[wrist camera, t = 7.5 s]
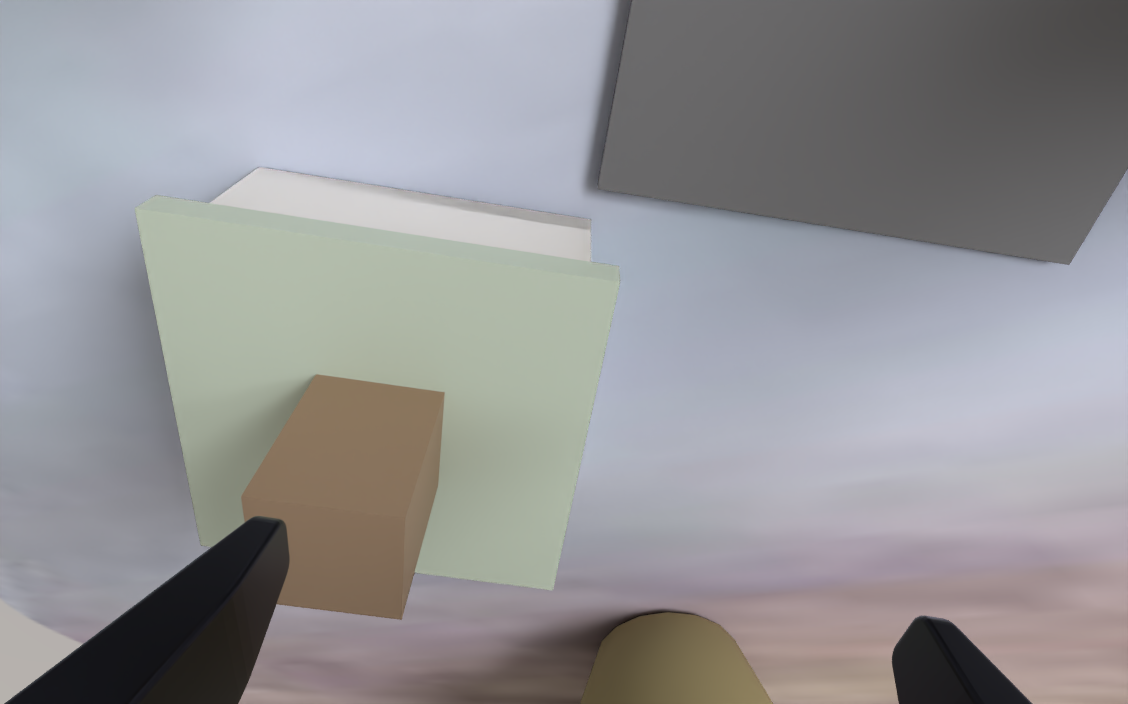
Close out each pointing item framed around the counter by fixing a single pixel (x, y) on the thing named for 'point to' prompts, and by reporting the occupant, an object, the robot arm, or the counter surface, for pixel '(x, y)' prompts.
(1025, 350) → the counter surface
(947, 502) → the counter surface
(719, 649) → the squeeze bottle
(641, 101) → the mat
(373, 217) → the white box
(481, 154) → the counter surface
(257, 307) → the lid
